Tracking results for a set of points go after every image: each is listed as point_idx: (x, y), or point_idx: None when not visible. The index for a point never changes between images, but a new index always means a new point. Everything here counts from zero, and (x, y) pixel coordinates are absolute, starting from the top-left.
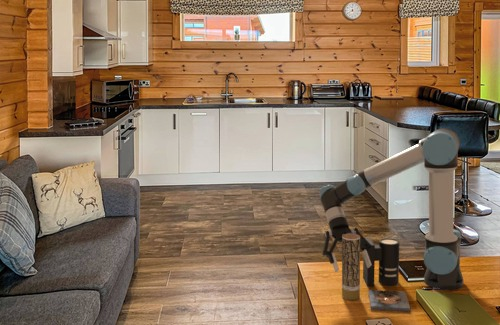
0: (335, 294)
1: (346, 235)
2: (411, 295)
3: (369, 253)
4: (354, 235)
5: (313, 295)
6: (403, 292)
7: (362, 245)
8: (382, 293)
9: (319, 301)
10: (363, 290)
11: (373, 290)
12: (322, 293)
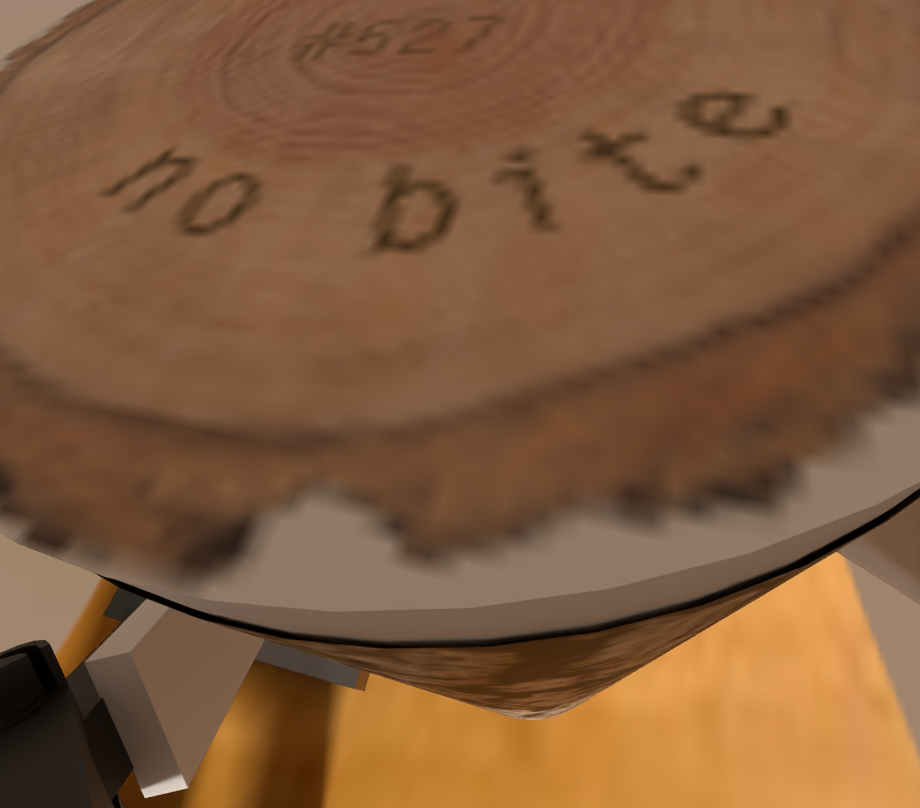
0: (659, 714)
1: (752, 68)
2: (84, 616)
3: (94, 650)
4: (188, 104)
5: (885, 718)
6: (122, 603)
7: (45, 767)
8: None
9: (801, 580)
10: (382, 775)
11: (317, 672)
12: (794, 758)
